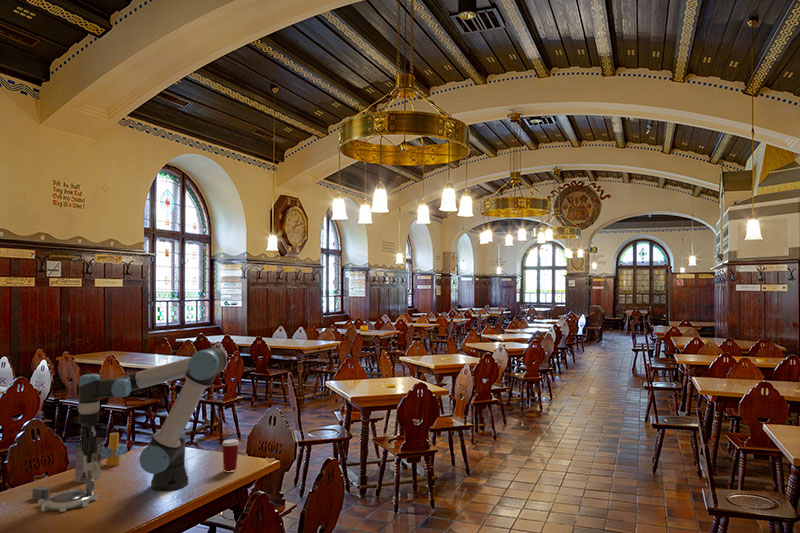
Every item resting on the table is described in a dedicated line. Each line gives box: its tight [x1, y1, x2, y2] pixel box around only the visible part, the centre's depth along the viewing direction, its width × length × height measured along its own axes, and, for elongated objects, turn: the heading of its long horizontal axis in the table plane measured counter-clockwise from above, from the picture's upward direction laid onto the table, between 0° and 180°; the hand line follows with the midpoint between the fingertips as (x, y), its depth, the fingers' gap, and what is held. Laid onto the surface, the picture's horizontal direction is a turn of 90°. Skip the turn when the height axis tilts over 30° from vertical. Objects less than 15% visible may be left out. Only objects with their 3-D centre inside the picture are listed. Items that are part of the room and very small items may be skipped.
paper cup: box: [221, 438, 240, 471], centre depth 259 cm, size 8×8×14 cm
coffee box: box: [74, 440, 102, 484], centre depth 246 cm, size 9×6×16 cm
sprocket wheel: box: [37, 479, 98, 513], centre depth 218 cm, size 20×20×8 cm
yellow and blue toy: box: [101, 432, 129, 467], centre depth 267 cm, size 12×10×15 cm
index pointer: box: [31, 485, 50, 501], centre depth 223 cm, size 7×3×4 cm, turn 72°
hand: (87, 470), depth 225 cm, fingers closed
